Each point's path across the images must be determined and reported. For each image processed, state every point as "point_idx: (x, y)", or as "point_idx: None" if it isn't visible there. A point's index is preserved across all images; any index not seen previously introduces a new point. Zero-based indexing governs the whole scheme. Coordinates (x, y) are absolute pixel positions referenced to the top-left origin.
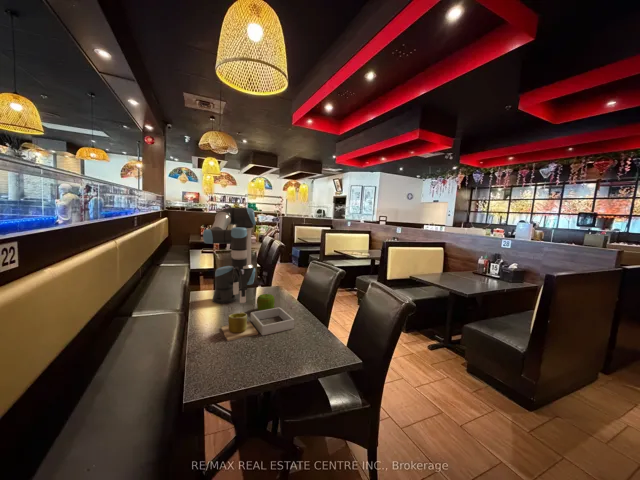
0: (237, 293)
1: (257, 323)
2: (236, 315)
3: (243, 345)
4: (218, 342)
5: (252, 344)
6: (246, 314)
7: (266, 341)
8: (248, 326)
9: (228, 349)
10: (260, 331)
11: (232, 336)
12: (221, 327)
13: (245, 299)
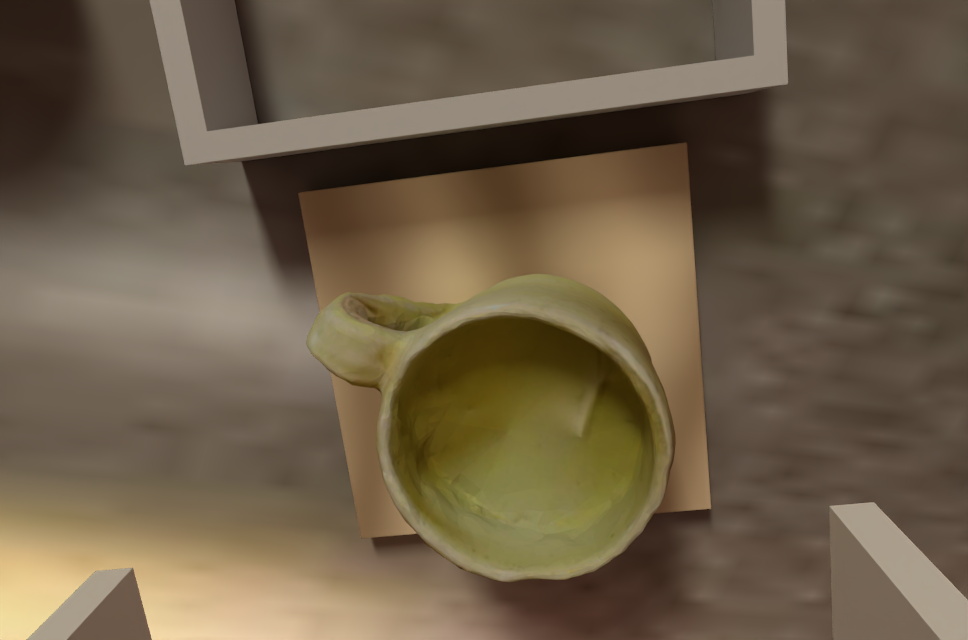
0: (130, 613)
1: (543, 118)
2: (409, 439)
3: (882, 352)
4: (691, 578)
5: (910, 253)
6: (531, 314)
7: (921, 73)
8: (471, 233)
9: (890, 505)
10: (674, 102)
11: (678, 454)
12: (369, 532)
13: (918, 555)
